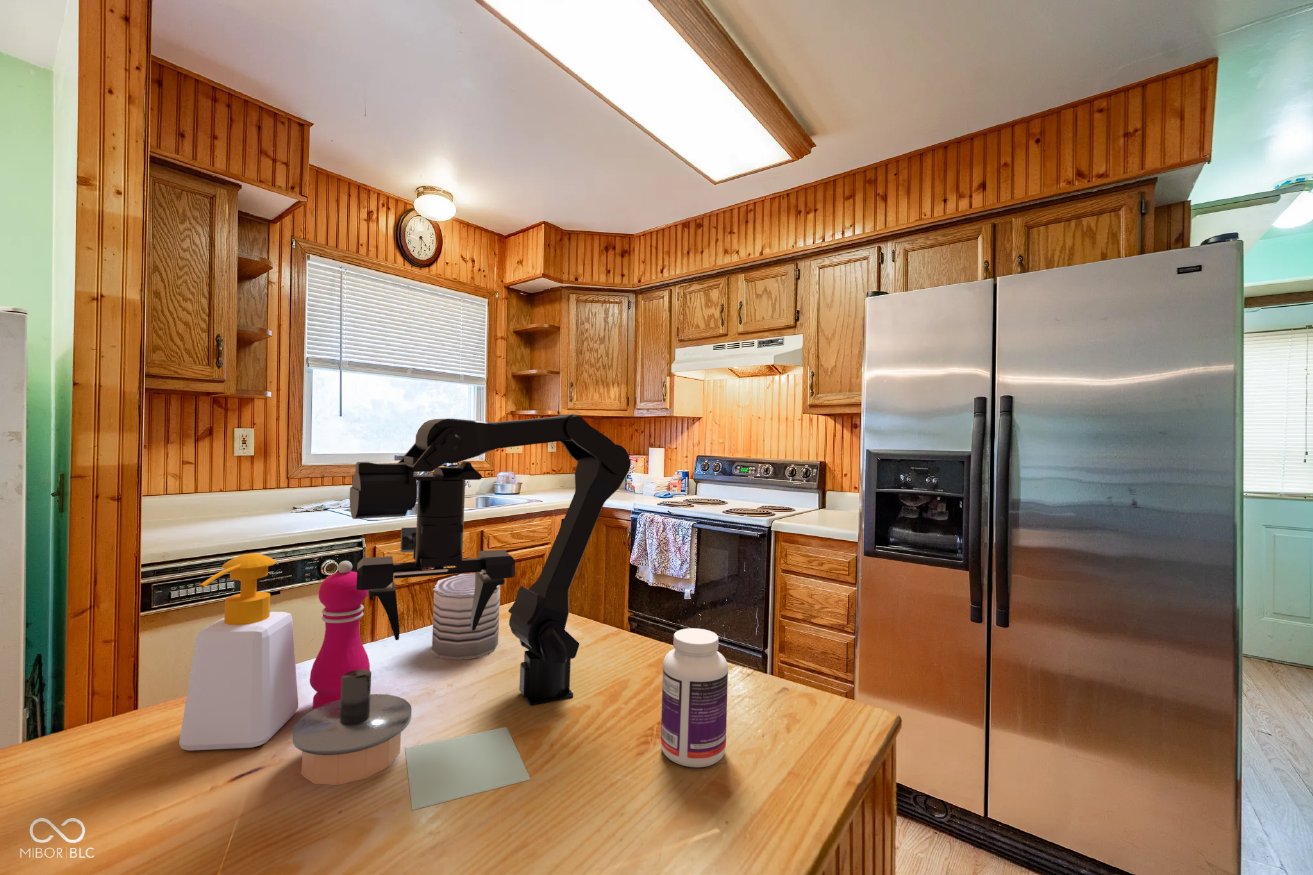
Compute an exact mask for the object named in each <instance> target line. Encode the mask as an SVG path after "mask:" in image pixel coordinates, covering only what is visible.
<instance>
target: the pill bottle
mask: <svg viewBox="0 0 1313 875" xmlns="http://www.w3.org/2000/svg"><path fill="white" fill-rule="evenodd" d="M672 643H673V644H672V645H673V649H671V650H669V652H667V653H666V655H665V656H664V659H663V661H662V688H661V719H660V720H661V723H660V726H661V727H660V747H661V750H662V752H663V754H664V755H665V757H666V758H668V760H670V761H672V762H673V763H675V764H677V765H679V766H683V767H688V768H704V767H710V766H712V765H715V764H716V763H718V762H719V761H720V760H721V759H722V758H723V756H724V754H725V753H726V748H727V721H728V720H727V718H728V715H727V714H728V680H729V676H728V675H729V666H728V662H727V659H726V658H725V656H724V655H723V654H722V653H721V652H719V635H717V633H716V632H714V631H711V630H710V629H709V630H707V629H704V628H696V627H695V628H692V627H689V628H683V629H679V630H677V631H675V633H673V642H672Z"/></svg>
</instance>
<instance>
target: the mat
mask: <svg viewBox="0 0 1313 875" xmlns="http://www.w3.org/2000/svg"><path fill="white" fill-rule="evenodd" d="M404 750H405V751H404V752H405V759H406V766H407V768H406V769H407V776H408V784H409V785H408V786H409V796H410V803H411V811H412V812H413V811H416V810H420V809H425V808H429V807H431V806H436V805H440V804H443V803H447V802H450V801H451V802H452V801H454V800H458V799H463V798H466V797H469V796H473V795H478V794H483V793H485V792H489V791H494V790H496V789H500V788H505V787H508V786H512V785H515V784H519V783H523V782H528V781H531V777H530V775H529V773H528V771H527V769H526V766H525V763H524V761H523V759H522V757H521V755H520V752H519V751H518V749H517V747H516V744H515V743H514V740H513V738H512V736H511V733H510V731H509V729H508V727H507V726H504V727H498V728H495V729H490V730H486V731H485V730H484V731H481V732H475V733H472V734H466V735H462V736H461V735H460V736H457V737H453V738H447V739H444V740H443V739H442V740H437V741H433V742H428V743H424V744H417V745H414V746H409V747H405V748H404Z"/></svg>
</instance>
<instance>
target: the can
mask: <svg viewBox="0 0 1313 875" xmlns="http://www.w3.org/2000/svg"><path fill="white" fill-rule="evenodd" d="M432 590H433V610H432V611H433V614H432V618H433V619H432V634H431V635H432V636H431V637H432V638H431V652H433V654H434V655H436V656H437V658H441V659H447V660H453V661H461V660H469V659H470V660H471V659H477V658H481V657H483V656H486V655H489V654H491V653H493V652H495V651H496V649H497V647H498V645H499V630H500V629H499V628H500V627H499V626H500V602H501V600H500V599H501V585H498V586H497V587H496V589H495V591H494V592H493V594H492V596H491V597H490V599H489V601H488V603H487V605H486V607H485V609H484V611H483V613H482V616H481V618H480V620H479V622H478V625H477V627H476V629H475V630H474V631H472V630H471V613H472V606H473V599H474V591H475V572H473V573H460V574H455V575H452V576H450V577H446V578H442V579H439V580H437V582H436V583H435V585H434V587H433V588H432Z"/></svg>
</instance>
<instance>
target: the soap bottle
mask: <svg viewBox="0 0 1313 875" xmlns="http://www.w3.org/2000/svg"><path fill="white" fill-rule="evenodd" d="M275 564H276V560H275V559H273V557H270V556H268V555H264V554H260V553H255V552H254V553H252V552H251V553H244V554H241V555H238V556H235V557H233V558H232V559H230V560H227V561H226V562H225V563H224V564H222V566H221V567H222V569H223V570H221V571H219V572H216V573H215V574H214V575H212V576H211V577H209V578H207V579H206V580H205V581H203V582H202V583H200V584H198V586H199V587H200V588H205V587H207V586H208V585H210V584H211V583H212V582H214V581H215V580H217V579H219V578H220V577H222V576H224V575H226V574H228V573H229V579H230V580H232V581H240V593H237V594H233V595H231V596H230V595H229V596H227V597H226V598H225V599H224V617H223V618H220V619H219V620H217V621H214V622H213V623H212V624H209V625H207V626H206V627H205V626H204V627H203V628H201V629H200V630H199V631H198V634H197V636H196V637H195V643H194V649H193V654H192V659H191V660H192V661H191V666H190V667H191V668H190V673H189V679H188V680H189V681H188V685H187V692H186V699H185V703H184V704H185V705H184V712H183V717H182V723H181V730H180V734H179V742H178V745H179V746H180V748H181V749H182V750H185V751H206V750H207V751H208V750H225V749H226V750H227V749H228V750H230V749H247V748H248V749H249V748H255V747H258V746H262V745H263V744H266V743H268V741H269V740H270V739H271V738H273V736H274V735H275V734H276V733H278V732H279V730H280V729H281V728H282V727H283V726H284V725H285V724H286V723H288V721H290V719H291V718H292V717H294V715H295V714H296V712H297V710H298V709H299V696H298V695H299V694H298V681H297V667H296V666H297V664H296V651H295V650H296V649H295V638H294V636H295V634H294V626H293V625H294V624H293V622H294V621H293V616H292V614H291V613H289V612H286V611H270V610H271V593H270V592H266V591H257V584H258V583H257V582H258V579H262V578H265V577H267V576H269V567H271V566H274V565H275Z"/></svg>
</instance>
